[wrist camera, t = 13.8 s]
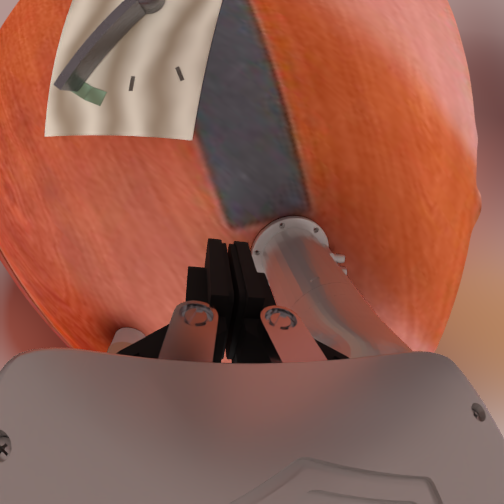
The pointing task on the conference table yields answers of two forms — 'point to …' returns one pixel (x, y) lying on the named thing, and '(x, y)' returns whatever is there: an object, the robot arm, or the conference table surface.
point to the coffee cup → (124, 339)
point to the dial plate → (135, 72)
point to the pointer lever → (103, 41)
